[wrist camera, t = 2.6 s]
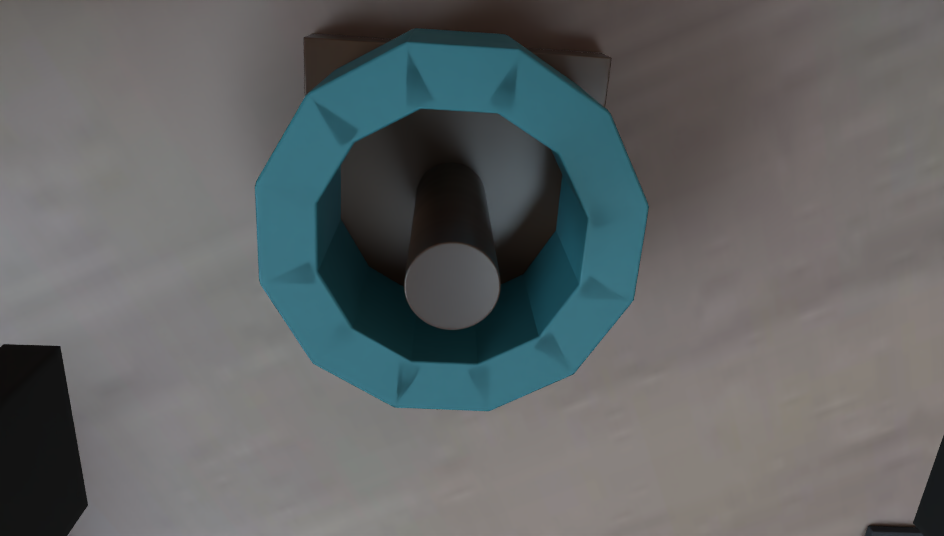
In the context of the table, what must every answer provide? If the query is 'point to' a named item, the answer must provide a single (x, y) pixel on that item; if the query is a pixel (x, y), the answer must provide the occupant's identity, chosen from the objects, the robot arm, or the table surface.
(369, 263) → the tape post
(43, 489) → the robot arm
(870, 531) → the mat
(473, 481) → the table surface
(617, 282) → the tape roll
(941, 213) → the table surface
